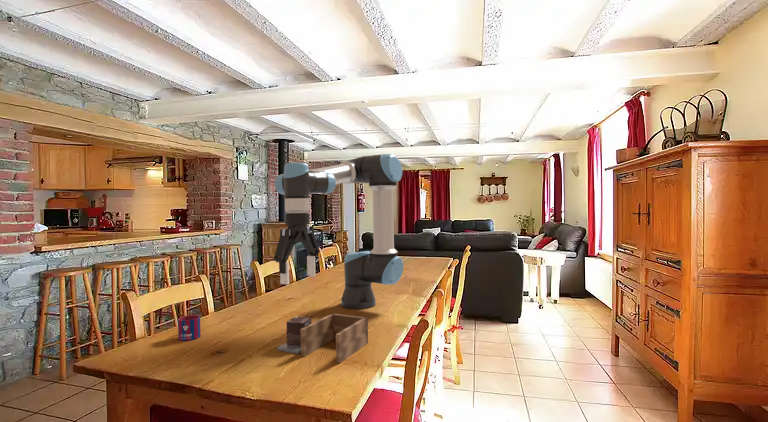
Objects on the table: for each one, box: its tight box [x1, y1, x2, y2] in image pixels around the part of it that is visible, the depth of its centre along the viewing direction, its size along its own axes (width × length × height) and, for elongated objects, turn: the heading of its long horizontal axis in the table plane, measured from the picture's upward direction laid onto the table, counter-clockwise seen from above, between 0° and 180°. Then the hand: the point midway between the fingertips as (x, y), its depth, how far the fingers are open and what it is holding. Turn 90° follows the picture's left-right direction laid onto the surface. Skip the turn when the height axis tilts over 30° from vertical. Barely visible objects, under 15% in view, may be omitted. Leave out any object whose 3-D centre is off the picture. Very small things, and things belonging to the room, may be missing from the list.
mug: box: [177, 314, 202, 342], centre depth 131 cm, size 7×10×7 cm
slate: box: [276, 342, 301, 355], centre depth 121 cm, size 12×8×1 cm, turn 155°
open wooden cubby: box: [300, 313, 369, 364], centre depth 117 cm, size 17×13×8 cm
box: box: [286, 316, 313, 346], centre depth 121 cm, size 6×6×7 cm
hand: (298, 279), depth 121 cm, fingers open, 13 cm apart
